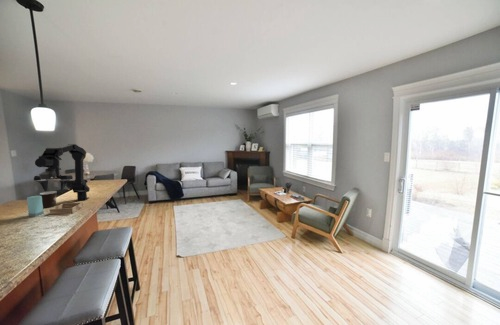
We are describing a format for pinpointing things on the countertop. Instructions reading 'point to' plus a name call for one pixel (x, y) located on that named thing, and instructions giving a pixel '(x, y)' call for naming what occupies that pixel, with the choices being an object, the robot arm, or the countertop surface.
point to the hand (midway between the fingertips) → (53, 191)
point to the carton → (65, 209)
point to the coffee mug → (48, 199)
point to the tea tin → (35, 206)
